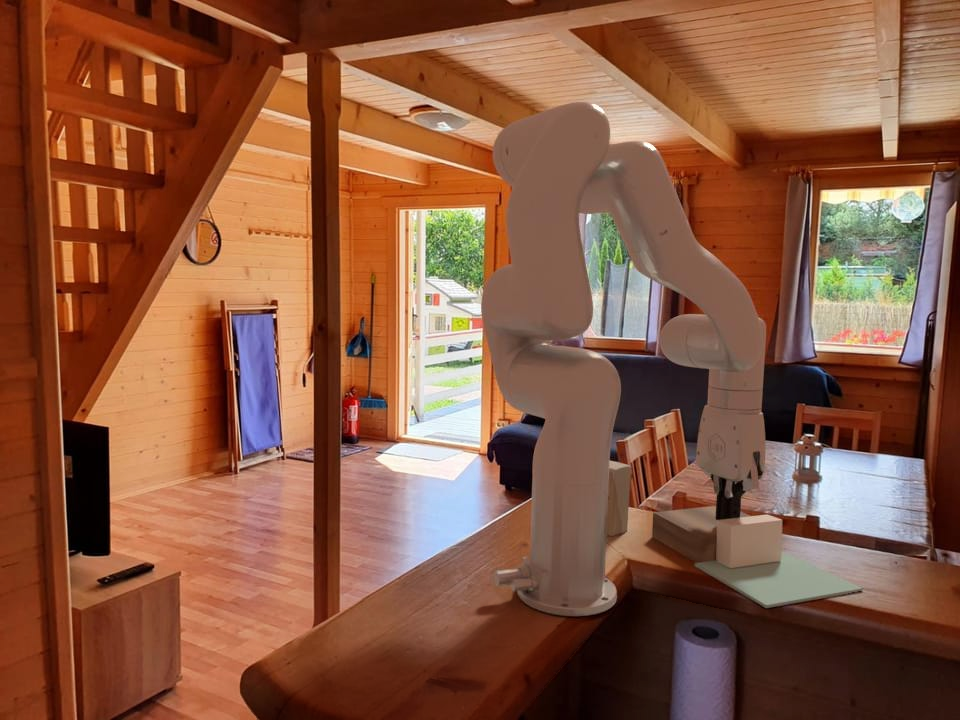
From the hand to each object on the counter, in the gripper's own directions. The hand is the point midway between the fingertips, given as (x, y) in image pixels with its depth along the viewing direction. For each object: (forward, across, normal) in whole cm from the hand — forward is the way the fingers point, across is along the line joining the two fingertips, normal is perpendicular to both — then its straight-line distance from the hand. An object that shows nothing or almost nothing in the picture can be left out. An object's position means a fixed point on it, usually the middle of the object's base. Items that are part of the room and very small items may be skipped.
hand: (727, 520), depth 106 cm
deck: (+5, -3, 0) cm, 6 cm away
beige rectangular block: (+1, +5, 0) cm, 5 cm away
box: (+5, -14, -12) cm, 19 cm away
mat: (+5, +10, 0) cm, 11 cm away
